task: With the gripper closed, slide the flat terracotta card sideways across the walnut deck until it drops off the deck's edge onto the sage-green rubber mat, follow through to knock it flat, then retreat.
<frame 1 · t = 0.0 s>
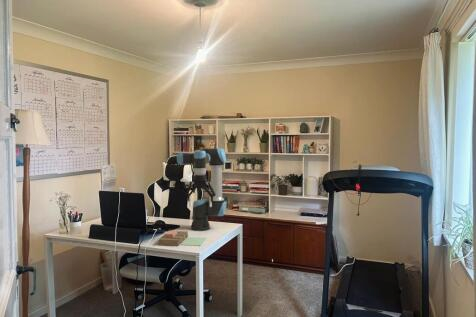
hand: (200, 206, 228), 28 cm above the table, fingers open, 13 cm apart
deck: (173, 240, 247), on the table
mat: (194, 241, 244), on the table
card: (171, 235, 247), point 4 cm above the table, touching deck
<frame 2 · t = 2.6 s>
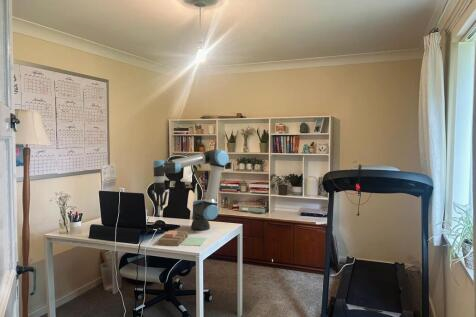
hand: (159, 214, 247), 18 cm above the table, fingers closed
nothing on the table moved.
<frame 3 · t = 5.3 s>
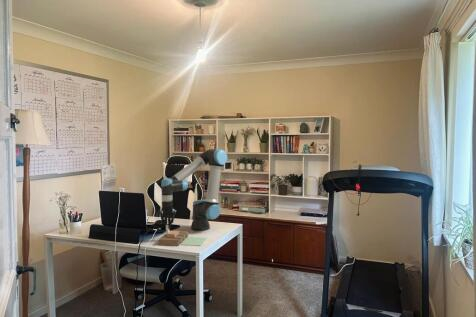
hand: (167, 233, 247), 5 cm above the table, fingers closed
card: (172, 235, 246), point 4 cm above the table
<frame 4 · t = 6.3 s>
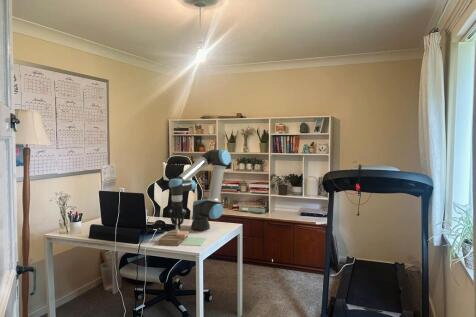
hand: (177, 233, 246), 5 cm above the table, fingers closed
card: (182, 235, 245), point 4 cm above the table, touching gripper
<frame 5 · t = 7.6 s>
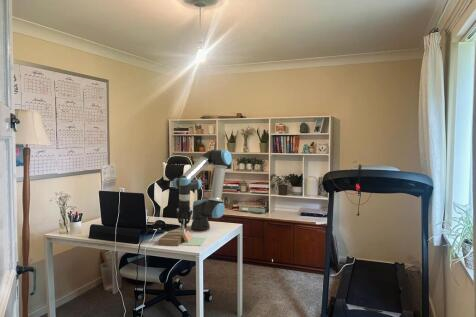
hand: (183, 233, 245), 6 cm above the table, fingers closed
card: (186, 237, 245), point 3 cm above the table, tilted 62°, touching gripper, mat
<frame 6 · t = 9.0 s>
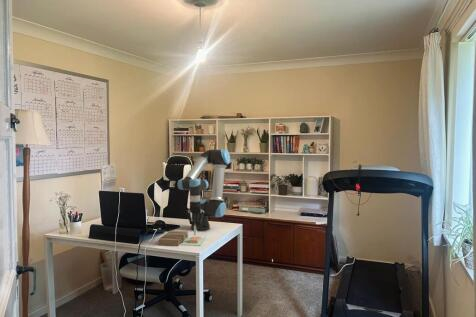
hand: (195, 234, 244), 5 cm above the table, fingers closed
card: (195, 238, 244), point 2 cm above the table, tilted 180°, touching mat
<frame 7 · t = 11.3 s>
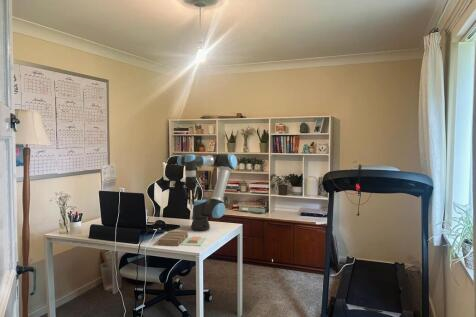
hand: (191, 208, 249), 22 cm above the table, fingers closed
nothing on the table moved.
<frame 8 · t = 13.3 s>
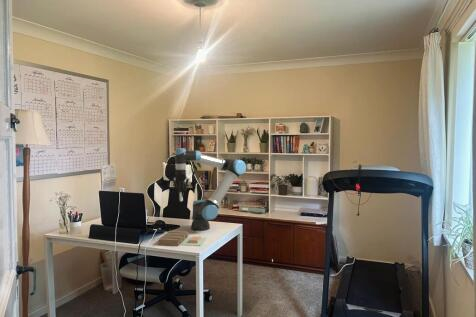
hand: (181, 201, 257), 26 cm above the table, fingers closed
nothing on the table moved.
at the end: card point 2.4 cm above the table; card inside the target area on the mat (0.6 cm from its centre), point 2.4 cm above the mat's base; card touching mat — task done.
